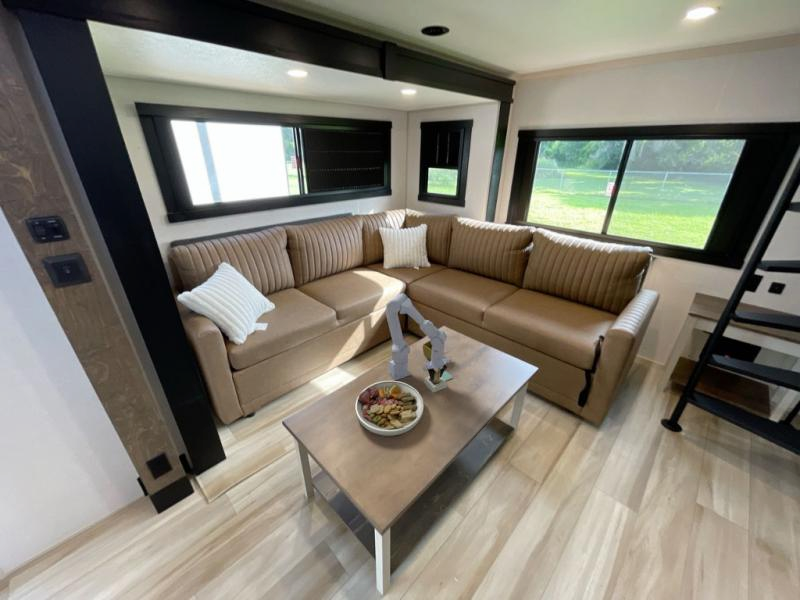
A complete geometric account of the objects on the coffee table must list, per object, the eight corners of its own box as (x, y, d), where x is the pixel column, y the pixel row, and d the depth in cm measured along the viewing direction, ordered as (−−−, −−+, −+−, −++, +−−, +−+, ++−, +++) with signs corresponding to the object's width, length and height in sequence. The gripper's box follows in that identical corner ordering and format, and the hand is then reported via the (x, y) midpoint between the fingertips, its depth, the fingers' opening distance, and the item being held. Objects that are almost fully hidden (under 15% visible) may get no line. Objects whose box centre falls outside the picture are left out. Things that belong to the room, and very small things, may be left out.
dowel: (434, 387, 151) (435, 374, 147) (429, 382, 154) (430, 369, 150) (440, 384, 153) (442, 372, 149) (436, 380, 156) (437, 367, 152)
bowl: (428, 395, 148) (429, 382, 144) (414, 447, 122) (415, 433, 118) (370, 383, 155) (369, 370, 151) (344, 430, 129) (343, 416, 125)
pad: (443, 381, 156) (443, 381, 156) (436, 374, 160) (436, 374, 160) (452, 378, 158) (453, 377, 158) (446, 371, 163) (446, 370, 163)
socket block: (432, 392, 149) (433, 387, 147) (424, 382, 155) (424, 378, 154) (446, 387, 152) (446, 382, 151) (437, 377, 158) (437, 373, 157)
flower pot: (443, 358, 173) (444, 345, 169) (433, 365, 168) (434, 351, 164) (431, 351, 179) (432, 338, 175) (421, 357, 173) (422, 344, 170)
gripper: (429, 364, 139) (427, 387, 145) (455, 355, 146) (452, 378, 152) (421, 356, 145) (419, 378, 151) (446, 347, 151) (444, 369, 157)
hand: (435, 377), depth 152 cm, fingers closed on dowel, 4 cm apart
